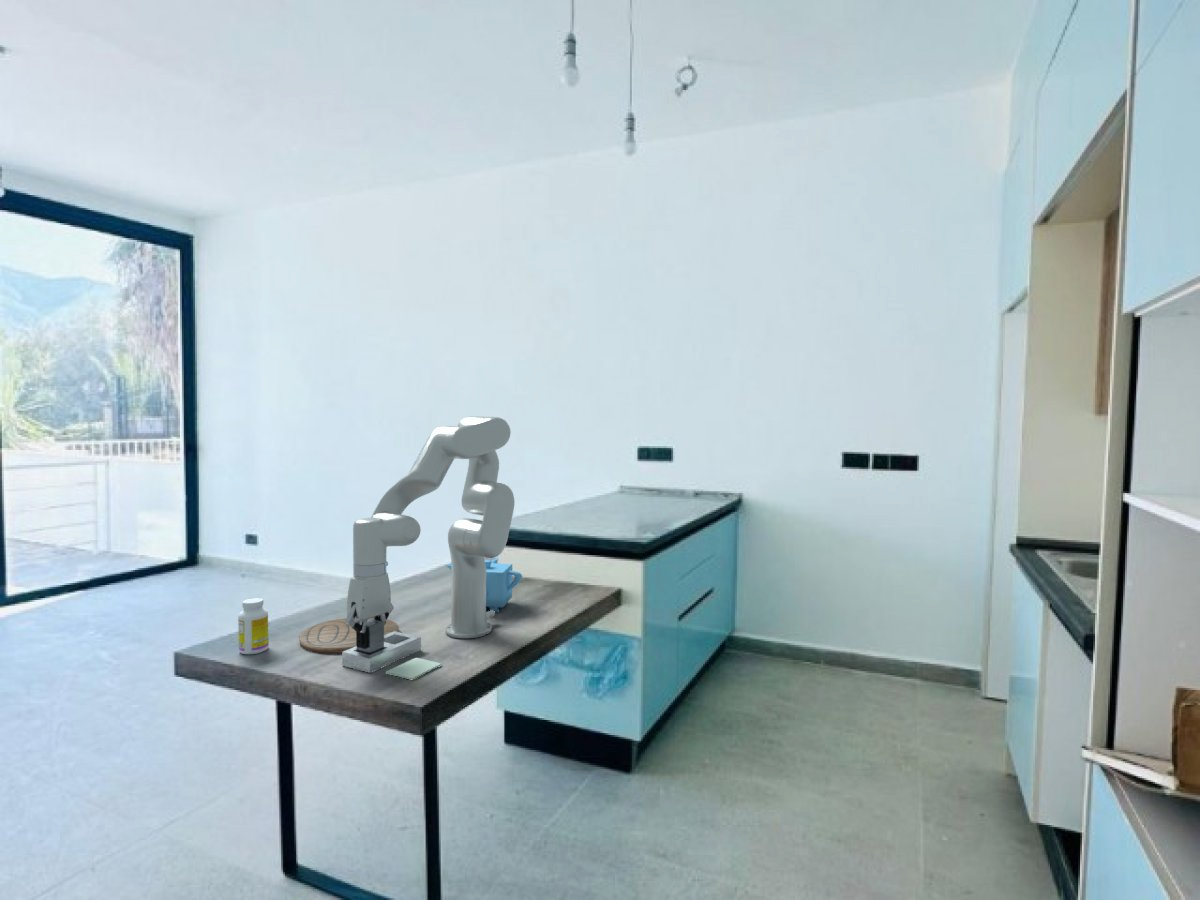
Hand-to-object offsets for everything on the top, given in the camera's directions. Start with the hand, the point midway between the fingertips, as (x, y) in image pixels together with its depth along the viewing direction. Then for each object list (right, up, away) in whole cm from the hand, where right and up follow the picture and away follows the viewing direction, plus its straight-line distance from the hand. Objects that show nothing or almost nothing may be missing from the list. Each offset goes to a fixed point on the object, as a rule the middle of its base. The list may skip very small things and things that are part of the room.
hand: (370, 643), depth 157 cm
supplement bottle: (-32, -4, +8) cm, 33 cm away
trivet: (-12, -4, +19) cm, 23 cm away
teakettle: (+19, -3, +48) cm, 52 cm away
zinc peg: (0, -5, 0) cm, 5 cm away
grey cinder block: (+2, -5, +4) cm, 6 cm away
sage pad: (+12, -5, -3) cm, 13 cm away
